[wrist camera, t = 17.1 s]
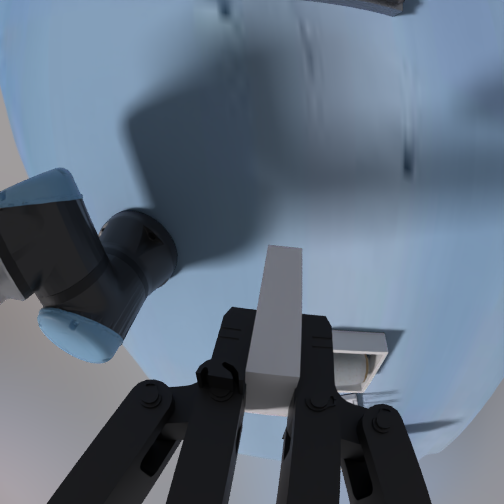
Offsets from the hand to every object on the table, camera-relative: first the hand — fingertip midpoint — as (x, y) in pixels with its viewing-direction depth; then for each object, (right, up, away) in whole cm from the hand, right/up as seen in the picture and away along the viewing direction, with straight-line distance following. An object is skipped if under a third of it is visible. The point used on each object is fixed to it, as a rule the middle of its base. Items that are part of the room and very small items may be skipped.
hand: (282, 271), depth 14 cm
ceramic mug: (+18, -20, +45) cm, 52 cm away
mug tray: (+18, -21, +45) cm, 53 cm away
